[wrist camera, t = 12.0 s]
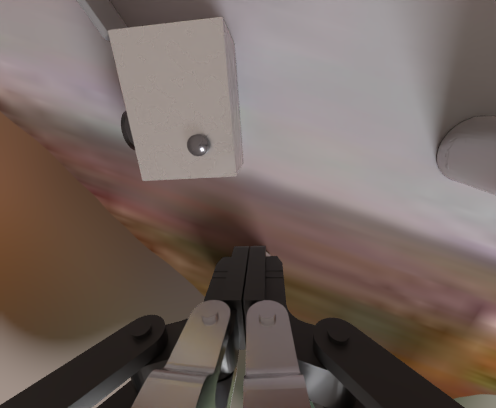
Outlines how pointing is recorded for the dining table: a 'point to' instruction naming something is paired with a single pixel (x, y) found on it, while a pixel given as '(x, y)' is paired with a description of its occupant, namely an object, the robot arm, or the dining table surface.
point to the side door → (102, 16)
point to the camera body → (180, 98)
